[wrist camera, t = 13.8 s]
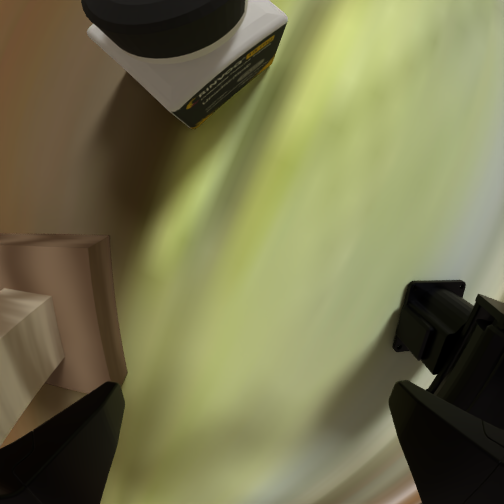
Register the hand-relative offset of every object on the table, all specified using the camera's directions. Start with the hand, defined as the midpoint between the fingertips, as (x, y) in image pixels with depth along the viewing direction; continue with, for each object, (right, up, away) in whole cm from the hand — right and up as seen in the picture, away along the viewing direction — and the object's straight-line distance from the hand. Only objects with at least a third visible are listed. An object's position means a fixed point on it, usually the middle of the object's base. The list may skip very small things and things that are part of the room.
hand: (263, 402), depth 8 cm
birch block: (-17, -1, +9) cm, 19 cm away
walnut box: (-17, 0, +13) cm, 21 cm away
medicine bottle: (-4, +17, +9) cm, 20 cm away
